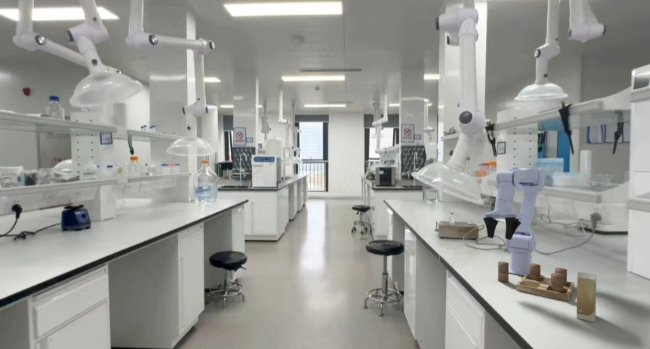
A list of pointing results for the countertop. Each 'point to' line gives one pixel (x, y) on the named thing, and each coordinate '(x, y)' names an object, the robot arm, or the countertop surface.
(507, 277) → the loose leg
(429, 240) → the countertop surface
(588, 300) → the skincare box
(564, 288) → the stool seat
